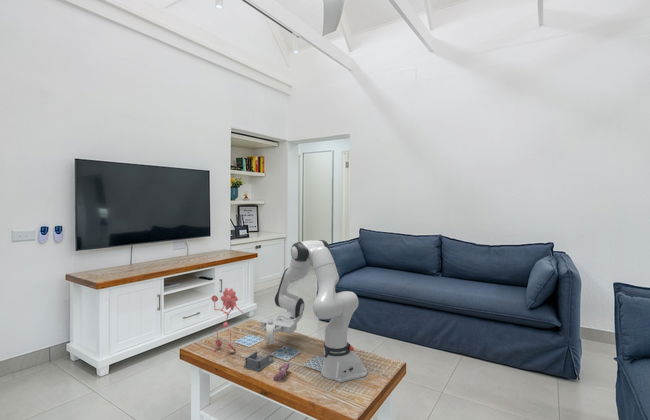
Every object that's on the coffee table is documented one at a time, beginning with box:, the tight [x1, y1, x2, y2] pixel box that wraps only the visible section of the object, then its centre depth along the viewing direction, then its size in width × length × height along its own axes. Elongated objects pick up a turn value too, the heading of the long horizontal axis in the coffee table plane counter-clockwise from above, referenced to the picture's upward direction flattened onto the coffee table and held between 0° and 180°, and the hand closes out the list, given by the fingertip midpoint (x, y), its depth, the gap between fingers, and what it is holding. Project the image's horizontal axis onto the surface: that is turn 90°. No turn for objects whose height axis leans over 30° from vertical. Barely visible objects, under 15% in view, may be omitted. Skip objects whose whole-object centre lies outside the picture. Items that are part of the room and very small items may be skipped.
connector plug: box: [265, 320, 276, 345], centre depth 174 cm, size 4×4×12 cm
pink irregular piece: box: [273, 362, 291, 381], centre depth 155 cm, size 10×5×7 cm, turn 170°
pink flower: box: [211, 287, 245, 359], centre depth 183 cm, size 15×26×35 cm, turn 59°
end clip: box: [243, 351, 275, 373], centre depth 166 cm, size 12×10×5 cm
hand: (269, 330), depth 173 cm, fingers closed on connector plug, 4 cm apart
